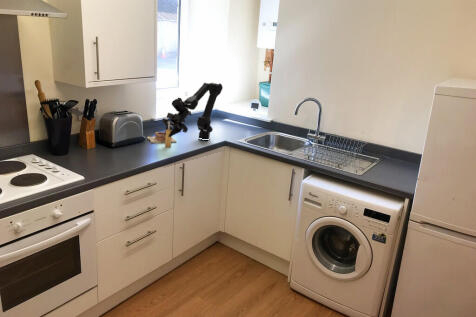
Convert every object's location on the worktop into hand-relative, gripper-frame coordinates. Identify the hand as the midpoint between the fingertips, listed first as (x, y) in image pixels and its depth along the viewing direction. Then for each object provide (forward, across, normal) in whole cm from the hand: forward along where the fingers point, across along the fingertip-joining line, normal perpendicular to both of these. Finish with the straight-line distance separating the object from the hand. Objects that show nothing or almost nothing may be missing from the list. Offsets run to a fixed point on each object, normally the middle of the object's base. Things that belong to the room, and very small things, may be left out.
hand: (166, 135), depth 243 cm
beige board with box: (0, -13, +10) cm, 16 cm away
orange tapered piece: (+4, 0, +6) cm, 7 cm away
